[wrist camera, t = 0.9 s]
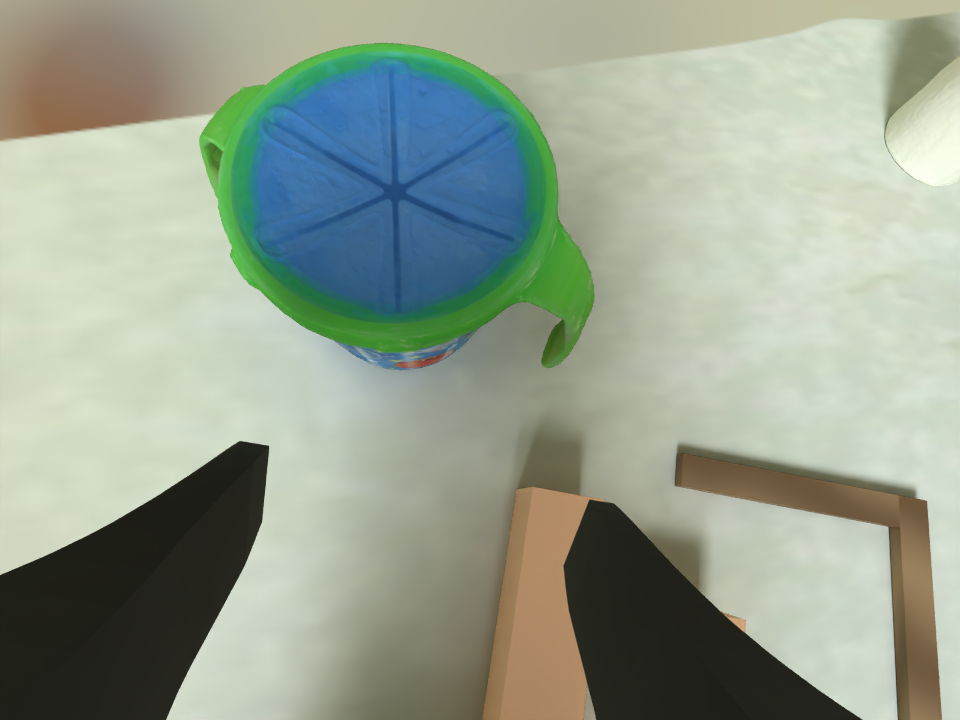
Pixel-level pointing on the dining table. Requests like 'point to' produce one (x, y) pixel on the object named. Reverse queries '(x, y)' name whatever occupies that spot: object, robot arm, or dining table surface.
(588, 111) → the dining table surface
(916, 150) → the white piece
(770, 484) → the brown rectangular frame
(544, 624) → the T block
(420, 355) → the snack cup
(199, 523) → the robot arm
